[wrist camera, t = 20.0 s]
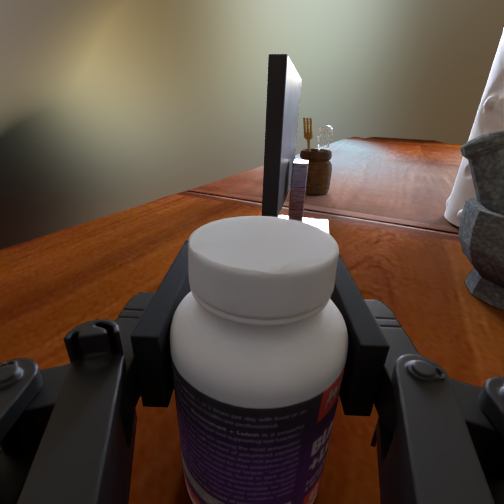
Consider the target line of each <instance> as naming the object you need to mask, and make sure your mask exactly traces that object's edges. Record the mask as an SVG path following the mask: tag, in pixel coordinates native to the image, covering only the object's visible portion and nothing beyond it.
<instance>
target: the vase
mask: <svg viewBox="0 0 504 504" xmlns="http://www.w3.org/2000/svg"><path fill="white" fill-rule="evenodd" d="M499 130H504V29H503V34H502V37H501V40H500V43H499V46H498V50H497V53H496V56H495V59H494V62H493V65H492V68H491V72H490V75H489V78H488V81H487V84H486V87H485V90H484V93H483V96H482V99H481V102H480V105H479V108H478V111H477V114H476V118H475V121H474V124H473V127H472V130H471V133H470V137H469V140H468V141H470V140H472V139H474V138H476V137H478V136H481V135H483V134H486V133H489V132H493V131H499ZM474 197H476V193H475V188H474V184H473V179H472V175H471V170H470V166H469V161H468V159H466V158H465V157H464V156H463V158H462V162H461V165H460V168H459V171H458V174H457V177H456V180H455V184H454V187H453V190H452V193H451V196H450V197H449V198H448V199H447V201H446V207H447V208H446V211H445V214H444V216H445V218H446V219H447V220H448V221H449V222H450V223H452V224H454V225H456V226H458V227H459V226H460V218H461V214H462V211H463V208H464V205H465V202H466V200H468V199H471V198H474Z"/></svg>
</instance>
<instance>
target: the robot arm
mask: <svg viewBox="0 0 504 504" xmlns="http://www.w3.org/2000/svg"><path fill="white" fill-rule="evenodd" d="M188 242H189V241H185V243H184V245H183V247H182V248H181V250H180V252H179V253H178V255H177V257H176V259H175V260H174V262H173V264H172V265H171V267H170V269H169V271H168V272H167V274H166V276H165V277H164V279H163V281H162V283H161V284H160V286H159V288H158V289H157V291H156V293H151V292H140V293H139V294H137V295H136V296H134V297H133V298H131V299H130V300H129V302H128V303H127V304H126V306H125V307H124V310H122V312H121V313H120V314H119V316H118V318H117V319H116V320H115V322H114V321H110V320H107V319H97V320H93V321H88V322H85V323H83V324H81V325H78V326H76V327H75V328H74V329H72V330H71V331H69V332H68V334H67V335H66V336H65V338H64V342H65V345H66V348H67V352H68V355H69V358H70V361H71V364H67V365H63V366H58V367H53V368H48V369H43V370H39V368H38V365H37V363H36V362H35V361H33V360H32V359H27V358H20V359H13V360H10V361H7V362H3V363H1V364H0V504H128V501H129V491H130V481H131V472H132V462H133V452H134V442H135V433H136V423H137V416H136V410H135V407H136V404H137V402H138V400H139V397H140V395H141V397H142V402H143V406H149V407H168V405H169V402H170V399H171V396H172V393H173V389H174V381H173V372H172V364H171V353H170V327H171V322H172V319H173V316H174V313H175V311H176V309H177V307H178V305H179V304H180V303H181V301H182V300H183V299H184V297H185V296H186V295H187V294H188V293H189V292H191V288H190V283H189V266H188ZM330 299H331V300H332V302H333V303H334V304H335V305H336V307H337V308H338V310H339V311H340V313H341V314H342V316H343V319H344V321H345V324H346V327H347V332H348V354H347V359H346V364H345V369H344V374H343V378H342V383H341V388H340V392H339V395H340V399H341V403H342V406H343V410H344V414H345V415H356V416H370V414H371V411H372V407H373V404H374V405H375V407H376V410H377V412H378V415H379V418H378V421H377V424H376V427H375V431H374V434H373V437H372V442H371V446H373V447H375V445H376V441H377V453H378V468H379V484H380V499H381V504H504V377H500V376H499V377H491V378H489V379H488V380H487V381H486V382H485V384H484V386H483V388H482V387H478V386H474V385H471V384H467V383H464V382H460V381H457V380H454V379H451V378H449V376H448V375H447V373H446V371H445V370H444V369H443V368H442V367H440V366H439V365H438V364H437V363H435V362H433V361H432V360H430V359H428V358H426V357H423V356H421V355H420V354H419V352H418V351H417V349H416V348H415V346H414V344H413V343H412V341H411V340H410V338H409V337H408V335H407V334H406V332H405V331H404V329H403V328H402V327H401V324H400V323H399V321H398V320H396V317H395V315H394V314H393V312H392V311H391V309H390V308H389V307H387V306H386V305H385V304H384V303H382V302H381V301H380V300H364V298H363V296H362V295H361V293H360V291H359V289H358V287H357V285H356V284H355V282H354V280H353V278H352V276H351V274H350V272H349V271H348V269H347V267H346V265H345V263H344V261H343V260H342V258H341V256H340V254H339V255H338V262H337V269H336V276H335V285H334V290H333V292H332V294H331V297H330Z"/></svg>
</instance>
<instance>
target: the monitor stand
mask: <svg viewBox="0 0 504 504" xmlns="http://www.w3.org/2000/svg"><path fill="white" fill-rule="evenodd" d="M308 163H309V160H299V159H295V160H294V162H293V165H292V177H291V189H290V202H289V214H288V216H283V215H279V216H278V217H279V218H286V219H291V220H296V221H301V222H304V223H307V224H310V225H313V226H315V227H317V228H319V229H322V230H323V231H325V232H327V233H328V234H329V224H328V220H327V219H316V218H305V217H303V210H304V201H305V191H306V182H307V172H308Z"/></svg>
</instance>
